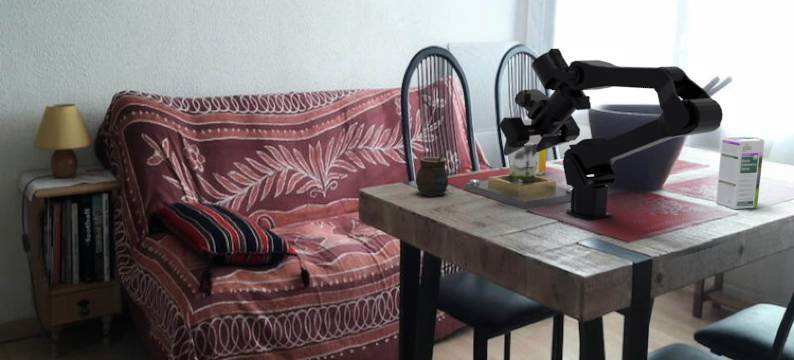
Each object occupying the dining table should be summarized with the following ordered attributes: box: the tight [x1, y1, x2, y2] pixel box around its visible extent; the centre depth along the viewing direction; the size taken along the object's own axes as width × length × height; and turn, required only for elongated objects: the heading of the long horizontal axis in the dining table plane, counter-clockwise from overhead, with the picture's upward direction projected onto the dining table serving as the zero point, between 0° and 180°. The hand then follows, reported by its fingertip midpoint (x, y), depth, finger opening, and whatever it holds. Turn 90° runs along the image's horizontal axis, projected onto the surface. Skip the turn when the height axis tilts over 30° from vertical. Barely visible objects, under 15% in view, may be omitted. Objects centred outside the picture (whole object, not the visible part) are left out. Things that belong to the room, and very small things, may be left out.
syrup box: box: [715, 135, 765, 210], centre depth 144 cm, size 6×6×14 cm
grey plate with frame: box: [464, 173, 573, 210], centre depth 153 cm, size 20×16×4 cm
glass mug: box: [508, 142, 537, 185], centre depth 153 cm, size 9×6×10 cm, turn 31°
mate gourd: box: [415, 152, 449, 197], centre depth 152 cm, size 7×8×10 cm
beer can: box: [522, 114, 548, 176], centre depth 175 cm, size 6×6×15 cm
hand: (520, 152), depth 152 cm, fingers open, 9 cm apart
